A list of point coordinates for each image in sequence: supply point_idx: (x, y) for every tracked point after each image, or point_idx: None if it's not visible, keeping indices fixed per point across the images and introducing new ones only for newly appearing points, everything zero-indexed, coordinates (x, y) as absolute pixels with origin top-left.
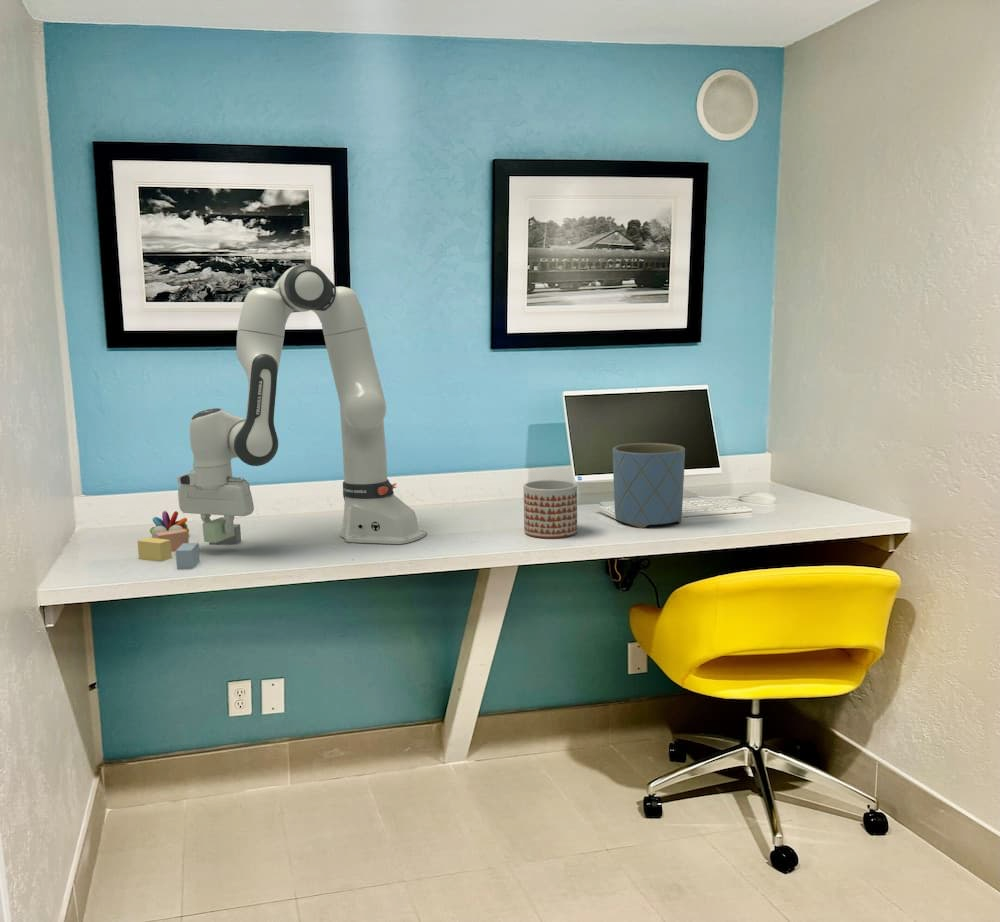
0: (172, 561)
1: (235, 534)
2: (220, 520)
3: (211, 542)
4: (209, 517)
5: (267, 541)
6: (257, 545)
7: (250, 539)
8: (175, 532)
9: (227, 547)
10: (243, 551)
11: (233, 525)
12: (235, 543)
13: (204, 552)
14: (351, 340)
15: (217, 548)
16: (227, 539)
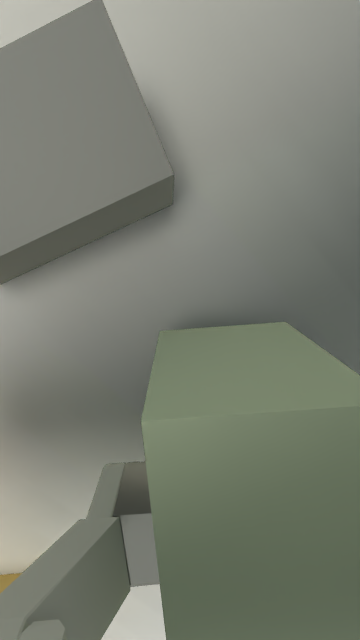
0: (124, 608)
1: (171, 192)
2: (301, 585)
3: (6, 278)
4: (46, 603)
5: (334, 21)
6: (334, 163)
7: (161, 24)
8: None
9: (176, 294)
10: (340, 327)
11: (328, 356)
12: (167, 206)
13: (136, 437)
14: None
15: (135, 340)
16: (110, 228)
